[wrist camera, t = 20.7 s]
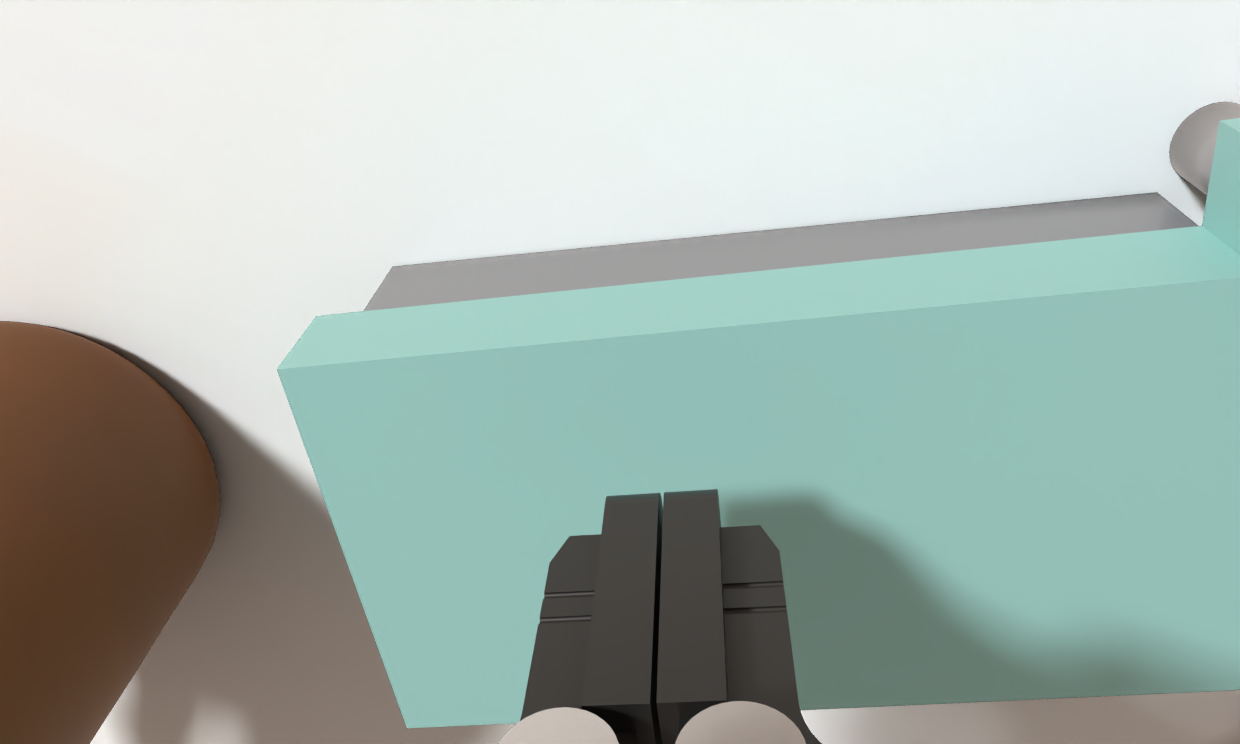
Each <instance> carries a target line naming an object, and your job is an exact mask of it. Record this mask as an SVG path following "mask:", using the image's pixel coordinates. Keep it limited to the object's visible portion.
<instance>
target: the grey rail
mask: <svg viewBox="0 0 1240 744" xmlns="http://www.w3.org/2000/svg"><path fill="white" fill-rule="evenodd" d="M1237 118H1240V105H1239V104H1237V103H1232V102H1218V103H1213V104H1210V105H1207V106H1204V107H1202V108H1200V109H1198V110H1197V111H1195V112H1194V113H1192V114H1191V115H1190V116H1188V117H1187V118H1186V119H1185V120H1184V121H1183V122H1182V123H1181V125H1180V126H1179V127H1178V129H1177V130H1176V132H1175V134H1174V136H1173V138H1172V141H1171V145H1170V152H1169V153H1170V161H1171V164H1172V166H1173V168H1174V170H1175V171H1176V172H1177V173H1178V174H1179V175H1180V176H1181V177H1183V178H1184V179H1185V180H1187V181H1188V182H1189V183H1191V184H1192V185H1193V186H1195V187H1196V188H1198V189H1199V190H1200V191H1202V192H1203V193H1204V194H1206V195H1207V193H1208V187H1209V181H1210V175H1211V169H1212V163H1213V157H1214V151H1215V145H1216V139H1217V133H1218V127H1219V121H1220V120H1228V119H1237ZM1196 226H1198V225H1197V224H1195V223H1194V222H1193V221H1192V220H1191V219H1189V218H1188V217H1187V216H1186V215H1184V214H1183V213H1182V212H1181V211H1179V210H1178V209H1177V208H1176V207H1174V206H1173V205H1172V204H1171V203H1170V202H1168V201H1167V200H1166V199H1165V198H1163V197H1162V196H1161V195H1160V194H1158V193H1157V192H1156V193H1146V194H1135V195H1125V196H1115V197H1105V198H1094V199H1084V200H1074V201H1063V202H1053V203H1043V204H1032V205H1022V206H1012V207H1002V208H991V209H981V210H971V211H960V212H950V213H940V214H929V215H919V216H909V217H899V218H888V219H878V220H868V221H857V222H847V223H837V224H827V225H816V226H806V227H796V228H785V229H775V230H765V231H754V232H744V233H734V234H724V235H713V236H703V237H693V238H682V239H672V240H662V241H651V242H641V243H631V244H621V245H610V246H600V247H590V248H579V249H569V250H559V251H549V252H538V253H528V254H518V255H507V256H497V257H487V258H476V259H466V260H456V261H446V262H435V263H425V264H415V265H404V266H394V267H392V268H391V270H390V271H389V273H388V274H387V276H386V277H385V279H384V280H383V282H382V283H381V285H380V287H379V288H378V290H377V291H376V293H375V294H374V296H373V297H372V299H371V300H370V302H369V303H368V305H367V306H366V308H365V309H364V311H371V310H381V309H391V308H401V307H411V306H420V305H430V304H440V303H450V302H460V301H469V300H479V299H489V298H499V297H509V296H519V295H528V294H538V293H548V292H558V291H568V290H577V289H587V288H597V287H607V286H617V285H626V284H636V283H646V282H656V281H666V280H676V279H685V278H695V277H705V276H715V275H725V274H734V273H744V272H754V271H764V270H774V269H783V268H793V267H803V266H813V265H823V264H833V263H842V262H852V261H862V260H872V259H882V258H891V257H901V256H911V255H921V254H931V253H940V252H950V251H960V250H970V249H980V248H990V247H999V246H1009V245H1019V244H1029V243H1039V242H1048V241H1058V240H1068V239H1078V238H1088V237H1097V236H1107V235H1117V234H1127V233H1137V232H1146V231H1156V230H1166V229H1176V228H1186V227H1196Z"/></svg>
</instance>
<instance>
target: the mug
mask: <svg viewBox="0 0 1240 744" xmlns="http://www.w3.org/2000/svg"><path fill="white" fill-rule="evenodd" d="M219 516H220V494H219V486H218V479H217V475H216V471H215V467H214V464H213V460H212V457H211V455H210V453H209V450H208V448H207V446H206V444H205V441H204V439H203V438H202V436H201V434H200V433H199V431H198V429H197V428H196V426H195V424H194V423H193V421H192V420H191V419H190V417H189V416H188V415H187V413H186V412H185V411H184V409H183V408H182V407H181V406H180V405H179V404H178V402H177V401H176V400H175V399H174V398H173V397H172V396H171V395H170V394H169V393H168V392H167V391H166V390H165V389H164V388H163V387H162V386H161V385H159V384H158V383H157V382H156V381H155V380H154V379H153V378H151V377H150V376H149V375H148V374H147V373H145V372H144V371H142V370H141V369H140V368H138V367H137V366H135V365H134V364H133V363H131V362H130V361H128V360H127V359H125V358H123V357H122V356H120V355H118V354H116V353H115V352H113V351H111V350H109V349H108V348H106V347H103V346H101V345H99V344H97V343H95V342H93V341H90V340H88V339H86V338H83V337H81V336H78V335H75V334H72V333H69V332H66V331H63V330H59V329H55V328H51V327H47V326H43V325H37V324H30V323H22V322H10V321H0V744H90V742H91V741H92V739H93V738H94V736H95V735H96V733H97V731H98V730H99V728H100V727H101V725H102V724H103V722H104V721H105V719H106V717H107V716H108V714H109V713H110V711H111V710H112V708H113V707H114V705H115V704H116V702H117V700H118V699H119V697H120V696H121V694H122V693H123V691H124V690H125V688H126V686H127V685H128V683H129V682H130V680H131V679H132V677H133V675H134V674H135V672H136V671H137V669H138V668H139V666H140V664H141V663H142V661H143V659H144V658H145V656H146V655H147V653H148V651H149V650H150V648H151V646H152V645H153V643H154V641H155V640H156V638H157V637H158V635H159V633H160V632H161V630H162V628H163V627H164V625H165V624H166V622H167V621H168V619H169V617H170V616H171V614H172V613H173V611H174V610H175V608H176V607H177V605H178V603H179V602H180V600H181V599H182V597H183V596H184V594H185V593H186V591H187V589H188V588H189V586H190V585H191V583H192V582H193V580H194V578H195V577H196V575H197V573H198V572H199V570H200V568H201V566H202V565H203V563H204V561H205V559H206V557H207V555H208V552H209V550H210V548H211V545H212V543H213V540H214V537H215V533H216V530H217V525H218V521H219Z"/></svg>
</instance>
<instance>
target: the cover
mask: <svg viewBox="0 0 1240 744" xmlns="http://www.w3.org/2000/svg"><path fill="white" fill-rule="evenodd" d="M277 371H278V374H279V377H280V379H281V382H282V385H283V388H284V390H285V393H286V396H287V399H288V402H289V404H290V407H291V410H292V413H293V415H294V418H295V421H296V424H297V426H298V429H299V432H300V435H301V437H302V440H303V443H304V446H305V448H306V451H307V454H308V457H309V459H310V462H311V465H312V468H313V471H314V473H315V476H316V479H317V482H318V484H319V487H320V490H321V493H322V495H323V498H324V501H325V504H326V506H327V509H328V512H329V515H330V517H331V520H332V523H333V526H334V529H335V531H336V534H337V537H338V540H339V542H340V545H341V548H342V551H343V553H344V556H345V559H346V562H347V564H348V567H349V570H350V573H351V575H352V578H353V581H354V584H355V586H356V589H357V592H358V595H359V598H360V600H361V603H362V606H363V609H364V611H365V614H366V617H367V620H368V622H369V625H370V628H371V631H372V633H373V636H374V639H375V642H376V644H377V647H378V650H379V653H380V656H381V658H382V661H383V664H384V667H385V669H386V672H387V675H388V678H389V680H390V683H391V686H392V689H393V691H394V694H395V697H396V700H397V702H398V705H399V708H400V711H401V713H402V716H403V719H404V722H405V725H406V727H407V728H424V727H446V726H468V725H490V724H512V723H518V722H520V718H521V715H522V710H523V704H524V699H525V694H526V688H527V683H528V677H529V672H530V666H531V661H532V655H533V650H534V645H535V639H536V634H537V628H538V624H540V612H541V606H542V601H543V599H544V590H545V585H546V579H547V574H548V568H549V563H550V562H551V560H552V559H553V558H554V556H555V555H556V554H557V552H558V551H559V550H560V548H561V547H562V546H563V544H564V543H565V542H566V540H567V539H568V537H569V536H578V535H596V534H601V532H602V524H603V515H604V507H605V500H606V497H607V496H615V495H631V494H648V493H660V494H661V497H662V503H663V498H664V492H677V491H694V490H710V489H718V496H719V507H720V519H721V527H735V526H753V525H760V526H761V527H762V528H763V530H764V531H765V532H766V534H767V535H768V536H769V537H770V539H771V540H772V541H773V543H774V544H775V545H776V547H777V548H778V549H779V551H780V559H781V567H782V575H783V584H784V590H785V598H786V607H787V614H788V622H789V630H790V638H791V646H792V654H793V662H794V670H795V678H796V686H797V694H798V701H799V707H800V710H816V709H838V708H860V707H882V706H903V705H925V704H947V703H969V702H990V701H1012V700H1034V699H1056V698H1077V697H1099V696H1121V695H1143V694H1165V693H1186V692H1208V691H1230V690H1239V689H1240V118H1237V119H1228V120H1220V121H1219V127H1218V133H1217V139H1216V145H1215V151H1214V157H1213V163H1212V169H1211V175H1210V181H1209V187H1208V193H1207V199H1206V205H1205V211H1204V217H1203V223H1202V226H1196V227H1186V228H1176V229H1166V230H1156V231H1146V232H1137V233H1127V234H1117V235H1107V236H1097V237H1088V238H1078V239H1068V240H1058V241H1048V242H1039V243H1029V244H1019V245H1009V246H999V247H990V248H980V249H970V250H960V251H950V252H940V253H931V254H921V255H911V256H901V257H891V258H882V259H872V260H862V261H852V262H842V263H833V264H823V265H813V266H803V267H793V268H783V269H774V270H764V271H754V272H744V273H734V274H725V275H715V276H705V277H695V278H685V279H676V280H666V281H656V282H646V283H636V284H626V285H617V286H607V287H597V288H587V289H577V290H568V291H558V292H548V293H538V294H528V295H519V296H509V297H499V298H489V299H479V300H469V301H460V302H450V303H440V304H430V305H420V306H411V307H401V308H391V309H381V310H371V311H362V312H352V313H342V314H332V315H322V316H316V317H315V319H314V320H313V321H312V323H311V324H310V325H309V327H308V328H307V329H306V331H305V332H304V334H303V335H302V336H301V338H300V339H299V340H298V342H297V343H296V344H295V346H294V347H293V348H292V350H291V351H290V352H289V354H288V355H287V356H286V358H285V359H284V360H283V362H282V363H281V364H280V366H279V367H278V369H277Z"/></svg>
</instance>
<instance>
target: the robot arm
mask: <svg viewBox="0 0 1240 744" xmlns="http://www.w3.org/2000/svg"><path fill="white" fill-rule="evenodd" d="M498 744H822V743H820V742H819V741H818V740H817V738H816V737H815V736H814V735H813V734H812V733H811V731H810V730H809V728H808V727H807V725H806V724H805V722H804V719H803V717H802V715H801V711H800V707H799V701H798V694H797V686H796V678H795V670H794V662H793V654H792V646H791V638H790V630H789V622H788V614H787V607H786V598H785V590H784V584H783V575H782V567H781V559H780V551H779V549H778V548H777V547H776V545H775V544H774V543H773V541H772V540H771V539H770V537H769V536H768V535H767V534H766V532H765V531H764V530H763V528H762V527H761V526H760V525H753V526H735V527H721V519H720V507H719V496H718V489H710V490H694V491H677V492H664V498H663V503H662V497H661V494H660V493H648V494H631V495H615V496H607V497H606V500H605V507H604V515H603V524H602V532H601V534H596V535H578V536H569V537H568V539H567V540H566V542H565V543H564V544H563V546H562V547H561V548H560V550H559V551H558V552H557V554H556V555H555V556H554V558H553V559H552V560H551V562H550V563H549V568H548V574H547V579H546V585H545V590H544V599H543V601H542V606H541V612H540V624H538V628H537V634H536V639H535V645H534V650H533V655H532V661H531V666H530V672H529V677H528V683H527V688H526V694H525V699H524V704H523V710H522V715H521V718H520V722H518V723H517V724H515V725H514V726H513V727H512V728H511V729H510V730H508V731H507V732H506V734H505V735H504V736H503V737H502V738H501V740H500V741H499V743H498Z"/></svg>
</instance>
